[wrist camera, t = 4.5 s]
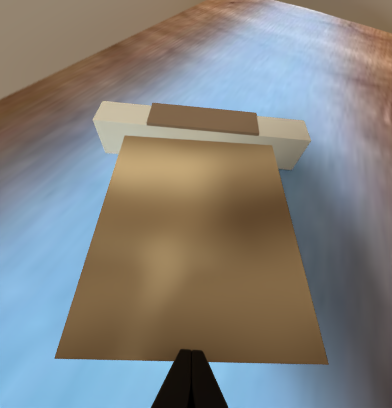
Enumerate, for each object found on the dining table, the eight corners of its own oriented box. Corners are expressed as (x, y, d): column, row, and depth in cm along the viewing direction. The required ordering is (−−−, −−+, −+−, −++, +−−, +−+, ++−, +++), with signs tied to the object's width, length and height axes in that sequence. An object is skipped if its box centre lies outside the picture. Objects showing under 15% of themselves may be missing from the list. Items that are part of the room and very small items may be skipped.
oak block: (265, 354, 14) (328, 364, 8) (109, 351, 13) (54, 358, 7) (245, 201, 20) (272, 145, 14) (140, 196, 20) (124, 135, 14)
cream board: (291, 170, 23) (312, 138, 19) (105, 153, 22) (91, 117, 19) (286, 150, 24) (305, 117, 21) (113, 134, 24) (102, 97, 20)
